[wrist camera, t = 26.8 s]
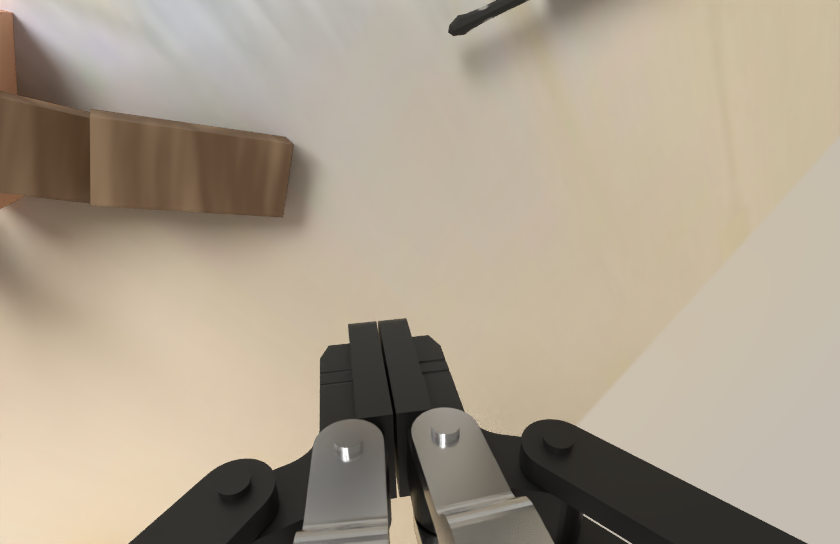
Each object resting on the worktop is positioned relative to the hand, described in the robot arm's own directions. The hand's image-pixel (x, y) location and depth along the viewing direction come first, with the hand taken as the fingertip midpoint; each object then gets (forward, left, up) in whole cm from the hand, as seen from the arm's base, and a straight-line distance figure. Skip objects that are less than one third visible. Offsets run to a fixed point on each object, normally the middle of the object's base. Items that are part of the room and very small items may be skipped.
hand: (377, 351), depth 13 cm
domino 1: (+4, -2, -24) cm, 24 cm away
